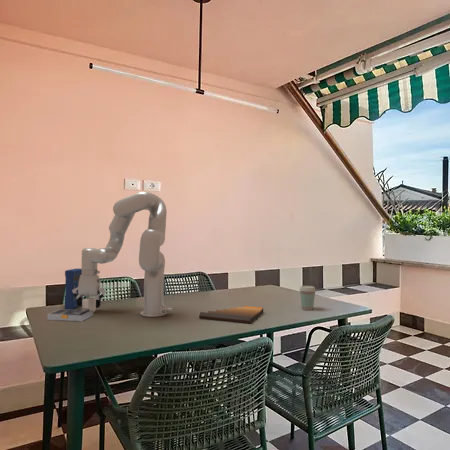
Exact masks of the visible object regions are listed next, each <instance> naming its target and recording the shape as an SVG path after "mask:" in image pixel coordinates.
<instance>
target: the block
mask: <svg viewBox="0 0 450 450" xmlns="http://www.w3.org/2000/svg"><path fill="white" fill-rule="evenodd" d="M96 300H97V298H96V297H95V296H88V297H86V298H82V306H81V307H82V308H81V309H83V308H89V310H93V313H94V312H95V311H96V309H97V308H96Z"/></svg>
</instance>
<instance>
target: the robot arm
mask: <svg viewBox="0 0 450 450" xmlns="http://www.w3.org/2000/svg"><path fill="white" fill-rule="evenodd" d="M143 210H145V211H146V210H147V211H149V215H148V222H147V223H148V226H147V229H145V230H144V231H143V232H142V233H141V237H140V242H139V250H138V251H139V253H138V263H139V264H138V265H139V267H140V268H141V269H142V270H143V271H144V274H143V275H144V277H143V280H144V281H143V310H141V311H140V312H139V313H140V315H141V316H142V317H145V318H146V317H148V318H157V317H163V316H165V315H167V312H170V313H171V312H172V310H173V309H172V307H171V306H166V304H165V303H164V290H165V289H164V284H165V283H164V282H165V267H166V266H165V265H166V259H165V255H164V254H163V252H162V251H161V250H160V249H161V246H163V245H164V243H165V242H166V241H165V240H166V225H167V206H166V203H165V202H164V200H163V199H162V197H159V196H158V195H156V194H155V193H152V192H148V191H139V192H136V193H134V194H131V195H129V196H126V197H124V198H121V199H119V200H117V201H116V202H115V203H114V204H113V206H112V211H113V214H114V215H113V218H112V220H111V222H110V224H109V226H108V229H109V230H108V231H109V233H110V236H109V239H108V242H107V245H106V246H105V247H104V248H95V247H85V248H82V250H81V268H80V269H81V275H80V278H79V284H78V287H77V288H75V289H73V290H72V292H73V294H74V296H75V297H76V299H77V307H76V308H79V307H80V308H81V307H82V300H83V297H84V296H86V297H87V296H88V297H96V308H95V309H99V308H100V307H101V305H102V304H101V303H102V301H101V300H102V298H103V297H104V296H105V295H106V292H107V290H105V289H103V287H101V281H100V275H99V274H100V273H101V271H100V270H98V264H100V265H102V264H103V265H104V264H107V263H110V262H113V261H115V259H116V258H117V257H118V255H119V253H120V251H121V249H122V246H123V244H124V240H125V234H126V233H127V230H128V228H129V227H130V224H131V222H132V220H133V218H134V216H135V214H136V213H138V212H141V211H143ZM77 290H78V293H77V292H76V291H77ZM81 296H82V298H81Z"/></svg>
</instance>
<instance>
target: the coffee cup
mask: <svg viewBox="0 0 450 450" xmlns="http://www.w3.org/2000/svg"><path fill="white" fill-rule="evenodd" d="M299 291H300V292H299V294H300V303H301V304H300V305H301V310H303V311H313V310H314V304H315V297H316V288H315V286H312V285H301V286H300V287H299Z"/></svg>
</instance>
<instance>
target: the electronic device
mask: <svg viewBox="0 0 450 450" xmlns="http://www.w3.org/2000/svg"><path fill="white" fill-rule="evenodd" d="M80 275H81V268H72V269H71V268H70V269H67V270H65V271H64V277H65V286H64V287H65V292H64V293H65V295H64V309H76V308H78V307H77V299H76V297H75V296H74V294H73V292H72V290H73V289H75V288H77V287H78V284H79V278H80ZM76 292H77V293H78V290H77V291H76ZM81 298H82V299H83V295H82V296H81Z"/></svg>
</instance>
